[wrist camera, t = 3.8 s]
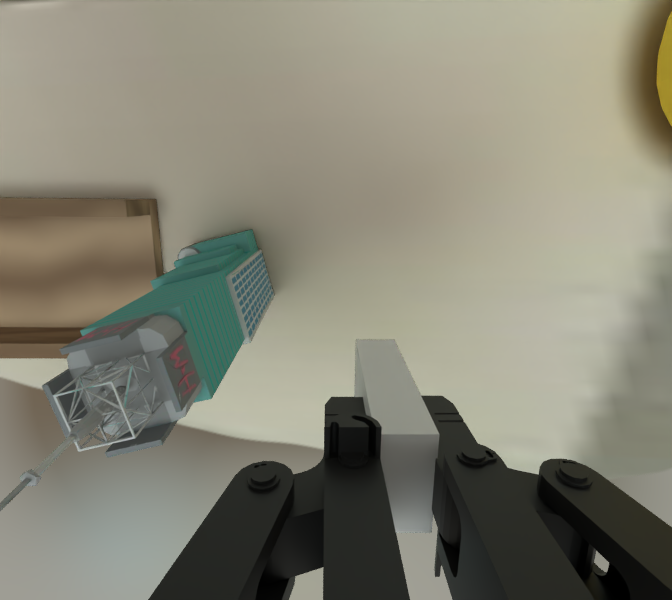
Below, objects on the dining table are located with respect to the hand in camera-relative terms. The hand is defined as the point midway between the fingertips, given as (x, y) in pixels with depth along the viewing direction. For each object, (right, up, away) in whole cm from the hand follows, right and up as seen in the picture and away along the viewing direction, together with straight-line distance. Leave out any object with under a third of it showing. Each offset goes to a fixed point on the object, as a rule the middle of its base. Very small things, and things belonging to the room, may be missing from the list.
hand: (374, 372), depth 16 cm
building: (-11, +5, +20) cm, 23 cm away
